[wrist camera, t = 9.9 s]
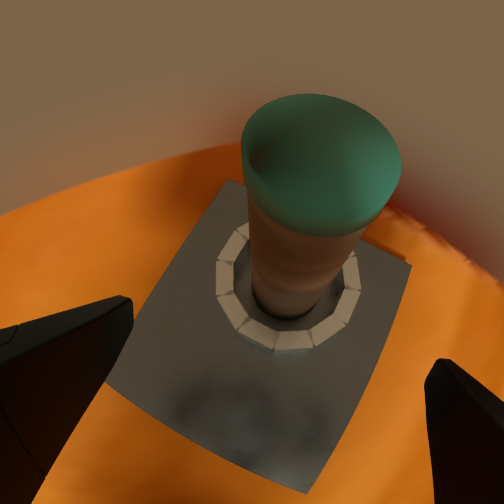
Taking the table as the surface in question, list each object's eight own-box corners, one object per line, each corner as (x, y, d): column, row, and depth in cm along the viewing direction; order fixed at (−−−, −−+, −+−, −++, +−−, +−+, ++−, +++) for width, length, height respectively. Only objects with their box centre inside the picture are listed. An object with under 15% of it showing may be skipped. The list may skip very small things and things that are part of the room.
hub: (406, 270, 22) (424, 254, 19) (304, 489, 16) (311, 505, 13) (229, 186, 25) (226, 162, 22) (106, 379, 19) (85, 376, 16)
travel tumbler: (335, 292, 20) (428, 165, 8) (279, 336, 19) (320, 250, 7) (291, 241, 22) (324, 79, 10) (235, 279, 20) (209, 131, 9)
